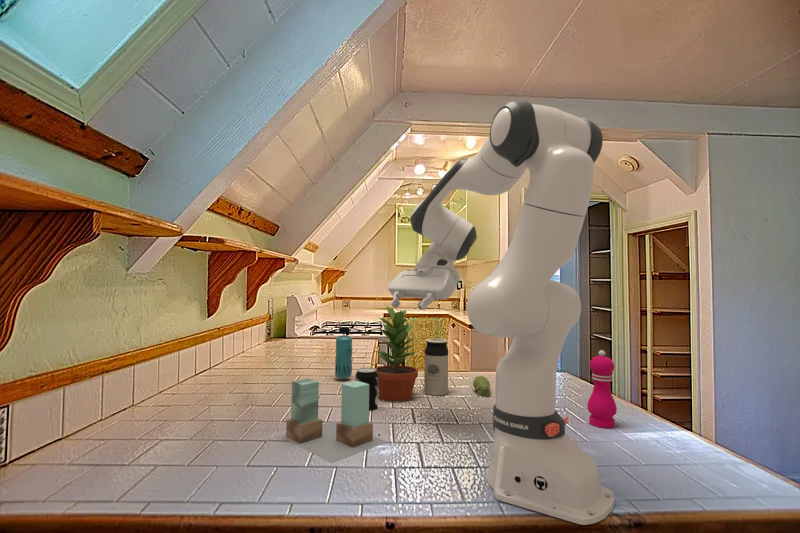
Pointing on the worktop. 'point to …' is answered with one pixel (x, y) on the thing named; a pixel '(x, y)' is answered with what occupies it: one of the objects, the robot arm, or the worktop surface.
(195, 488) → the worktop surface
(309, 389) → the tower
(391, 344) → the potted plant
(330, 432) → the board
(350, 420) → the pillar
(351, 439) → the base block
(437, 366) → the travel mug
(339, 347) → the beverage bottle
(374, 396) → the beverage can
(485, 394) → the pear
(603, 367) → the pepper mill
